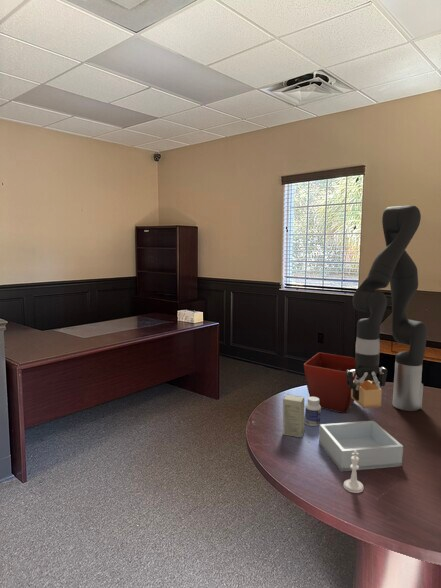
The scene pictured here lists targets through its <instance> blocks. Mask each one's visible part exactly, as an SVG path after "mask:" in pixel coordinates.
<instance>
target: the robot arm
mask: <svg viewBox="0 0 441 588" xmlns="http://www.w3.org/2000/svg"><path fill="white" fill-rule="evenodd" d="M421 215H422V214H421V211H420V209H419V208H418V207H417V206H415V205H409V204H407V205H393V206H388V207H386V208H385V209H384V211H383V213H382V220H381V223H382V231H383V236H384V240H385V246H386V247H385V248H384V249H383V250H382V251H380V252H379V253H378V254H377V256H376V257H375V258H374V260H373V262H372V264H371V267H370V269H369V271H368V274H367V276H366V278H365V279H364V280H363V281H362V282H361V283H360V285H359V286H358V288H357V289H356V290H355V291H354V293H353V295H352V300H351V301H352V306H353V308H354V309H355V310H356V311H359V312H364V313H365V312H366V313H370V315H369V317H368V318H360V319H359V320H358V321H357V323H356V324H357V325H356V339H355V340H356V341H355V353H354V354H355V355H354V356H355V357H354V358H355V368H354V369H353V370H348V369H347V370H346V378H347V386H349V387H350V388H351V389H353V398H354V399H355V400H356V401H357V400H359V387H360V386H361V385H362V384H363V382H364V381H367V380H369V381H371V382H372V383H374V384H375V385H376V386H378V387H379V388H381V387H385V386H386V382H387V381H386V380H387V377H388V376H387V375H388V369H387V368H386V367H384V366H381V367H379V365H380V354H381V353H380V352H381V342H380V338H381V337H380V336H381V335H380V331H381V330H380V329H381V325H382V320H383V318H384V315H385V312H386V309H387V306H388V299H387V296H386V295H385V294H384V293H383V292H381V291H377V290H381V289H385V288H387V287H388V286H389V285H390V296H391V311H392V312H391V316H392V317H391V320H392V321H391V332H392V338H393V340H394V341H395V342H396V343H399V344H405V345H408V346H409V349H408V350H405V351H399V352H397V353H396V354H395V359H394V360H395V362H394V376H393V389H392V390H393V391H392V392H393V393H392V406H393V407H394V408H396V409H398V410H401V411H407V412H414V411H415V412H416V411H418V410H420V409H422V408H423V407H422V406H423V405H422V404H423V394H424V393H423V392H424V383H422V377H423V376H422V375H423V374H422V373H423V362H424V357H425V353H426V346H427V338H428V327H427V325H426V323H424V322H423V321H420V320H413V319H409V318H408V317H407V308H408V306H409V303H410V301H411V300H412V298H413V297H414V295H416V292H417V290H418V288H419V277H418V276H419V273H418V268H417V264H416V263H415V261H414V260H413V259H412V257H411V256H410V255H409V253H408V252H407V250H406V249H407V248H408V246H409V244H410V242H411V240H412V239H413V238H414V236H415V234H416V232H417V231H418V229H419V226H420V224H421V219H422V216H421ZM354 373H356V377H355V379H354V382H353V377H354ZM377 375H378V377H377ZM359 379H360V380H359ZM356 401H355V402H356Z"/></svg>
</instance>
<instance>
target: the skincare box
mask: <svg viewBox="0 0 441 588" xmlns="http://www.w3.org/2000/svg"><path fill="white" fill-rule="evenodd" d="M304 433H305V396H298V395H293V394H285V396H284V397H283V398H282V435H285V436H290V437H295V438H296V437H297V438H302V437H303V435H304Z"/></svg>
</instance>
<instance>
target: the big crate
mask: <svg viewBox="0 0 441 588" xmlns="http://www.w3.org/2000/svg"><path fill="white" fill-rule="evenodd" d="M318 429H319V432H318V433H319V434H318V443H319V444H320V446H321V447H322V448H323V450H324V451H325V452H326V453H327V455H328V456H329V457H330V459H331V460H332V461H333V463H334V464H335V465H336V466H337V468H338V469H339V471H340V472H343V473H344V472H352V468H350V465H352V461H351V457H352V453H354V451H357V452H356V453H359V455H356V457H358V458H359V461H358V463H357V465H358V466H359V469H357V470H356V471H362V470H363V471H364V470H373V469H384V468H394V467H395V468H396V467H402V466H403V454H404V446H403V444H402V443H400V442H399V441H398V440H397V439H396V438H395V437H394V436H392V435H391V434H390V433H389V432H388V431H386V430H385V428H383V427H382V426H381V425H379V424H378V423H377V422H376V421H375V420H363V421H350V422H337V423H336V422H335V423H320V425H319V428H318ZM353 456H354V455H353Z"/></svg>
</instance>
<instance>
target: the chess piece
mask: <svg viewBox="0 0 441 588" xmlns="http://www.w3.org/2000/svg"><path fill="white" fill-rule="evenodd" d="M356 452H357V451H354V453H352V457H351V461H352V465H350V468H352V471H351V475H350V478H349V479H346V480H344V482H343V488H344V489H345V490H346V491H347V492H350V493H353V494H354V493H355V494H359V493H362V492H363V491H364V484H363V483H362V482H361V481H360V480H358V474H357V473H358V472H357V471H358V470H357V469H359V466H358V465H357V463H358V461H359V458H358V457H356V455H359V453H356ZM353 455H354V456H353Z"/></svg>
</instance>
